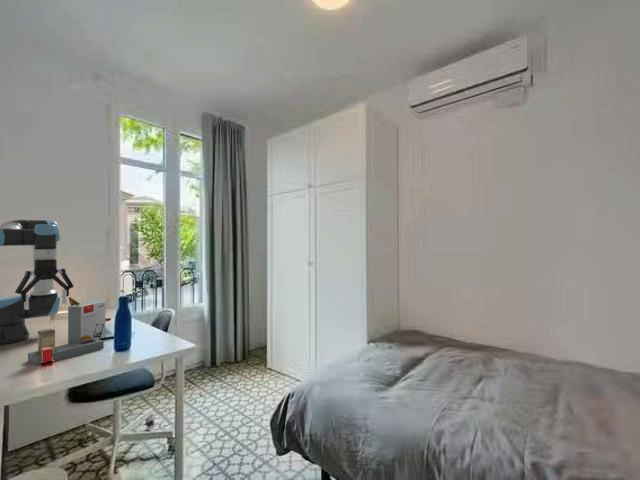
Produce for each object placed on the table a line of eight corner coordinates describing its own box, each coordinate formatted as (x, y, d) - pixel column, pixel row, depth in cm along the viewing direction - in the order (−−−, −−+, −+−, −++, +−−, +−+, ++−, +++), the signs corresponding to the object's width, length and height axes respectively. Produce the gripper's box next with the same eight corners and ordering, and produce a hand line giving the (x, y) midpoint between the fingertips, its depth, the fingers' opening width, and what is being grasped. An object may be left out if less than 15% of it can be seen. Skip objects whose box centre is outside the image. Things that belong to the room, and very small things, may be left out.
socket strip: (27, 361, 144) (27, 352, 144) (93, 344, 166) (93, 337, 166) (36, 365, 138) (36, 356, 138) (103, 348, 160) (103, 340, 160)
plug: (38, 360, 144) (37, 331, 144) (50, 357, 148) (50, 328, 148) (42, 362, 142) (42, 332, 142) (55, 358, 146) (55, 329, 146)
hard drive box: (79, 346, 163) (79, 306, 163) (67, 345, 164) (66, 306, 164) (106, 337, 178) (105, 301, 178) (94, 336, 180) (94, 300, 180)
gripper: (11, 260, 133) (12, 312, 133) (81, 257, 154) (82, 302, 154) (5, 260, 137) (5, 310, 137) (74, 257, 158) (74, 300, 158)
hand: (46, 306), depth 145 cm, fingers open, 13 cm apart
